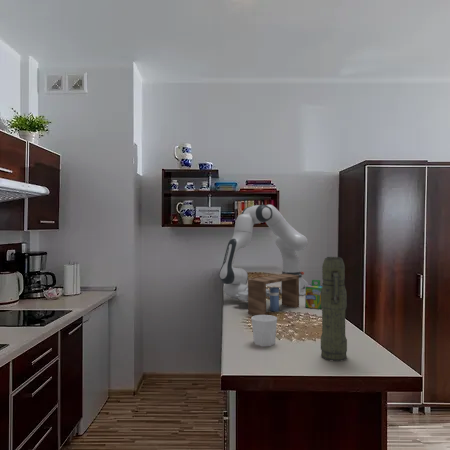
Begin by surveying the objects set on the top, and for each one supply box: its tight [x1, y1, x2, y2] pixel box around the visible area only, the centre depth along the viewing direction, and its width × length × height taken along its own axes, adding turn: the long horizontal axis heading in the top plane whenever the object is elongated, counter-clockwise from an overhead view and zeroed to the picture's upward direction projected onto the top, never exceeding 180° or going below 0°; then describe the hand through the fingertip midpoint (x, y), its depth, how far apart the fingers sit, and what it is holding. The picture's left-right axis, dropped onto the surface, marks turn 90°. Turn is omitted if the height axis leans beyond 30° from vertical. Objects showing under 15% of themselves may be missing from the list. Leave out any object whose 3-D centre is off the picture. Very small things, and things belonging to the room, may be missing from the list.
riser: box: [247, 273, 300, 316], centre depth 207 cm, size 30×10×18 cm, turn 133°
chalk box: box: [304, 279, 322, 310], centre depth 214 cm, size 9×9×15 cm
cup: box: [250, 314, 278, 347], centre depth 153 cm, size 10×10×10 cm
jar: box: [269, 286, 280, 312], centre depth 207 cm, size 5×5×12 cm
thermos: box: [320, 256, 348, 362], centre depth 137 cm, size 9×12×35 cm
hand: (264, 296), depth 212 cm, fingers open, 8 cm apart
